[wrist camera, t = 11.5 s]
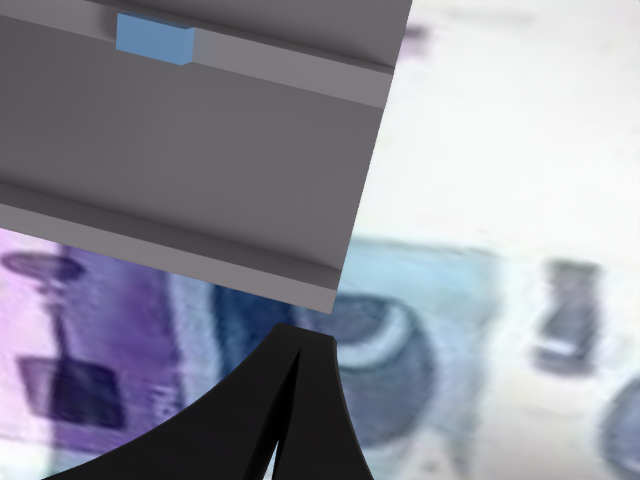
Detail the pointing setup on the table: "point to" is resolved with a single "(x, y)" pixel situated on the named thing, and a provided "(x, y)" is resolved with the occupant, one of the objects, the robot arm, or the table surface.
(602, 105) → the table surface
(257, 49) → the board
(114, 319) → the table surface
